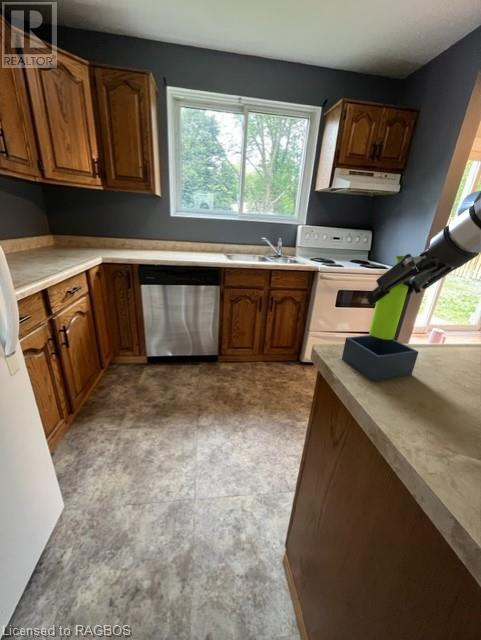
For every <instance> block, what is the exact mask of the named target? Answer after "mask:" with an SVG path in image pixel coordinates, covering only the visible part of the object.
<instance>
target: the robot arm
mask: <svg viewBox="0 0 481 640" xmlns="http://www.w3.org/2000/svg"><path fill="white" fill-rule="evenodd" d="M480 254H481V190H477V191H473V192H471V193H469V194H467V195H466V196H465V197H464V198H463V199H462V201H461V202H460V204H459V206H458V209H457V217H456V218H454V219H453V220H452V221H450V223H449V225H447V226H445V227H444V228H442V229H441V230H440V231H439V232H437V233H436V234H435V235H434V236H433V237H432V238H431V239H430V242H429V245H428V248H427V249H426V250H424V251H422V252H420V253H419V254H418V255H417V256H412V254H411V253H407V254H405V255H403V256H404V257H403V259H402V260H401V261H400V262H399V263H397V264H396V263H395V265H394V266H392V267H391V268H390V269H388V270H387V271H386V272H384V273H383V274H382V275H381V276H379V277H378V278H377V279H376V280H375V281H376V285H377V287H375V288H374V289H373V290H372V291H370V292H369V293H368V294H366V297H365V298H366V299H367V302H368V305H369V306H373V305H375V304H376V302H377V301H379V300H380V299H381V298H383V297H384V296H385V295H387V294H388V293H389V292H390V289H392V288H394V287H396V286H398V285H400V284H401V283H403V282H404V283H403V285H406V286H408V291H407V294H406V297H408V296H409V295H410V294H412V293H415V294H420V293H422V291H421V289H422V290H426V289H428V288H429V287H431V286H433V285H434V284H435V283H437V282H439V281H440V280H441V279H442V278H444V277H446V276H447V275H449V274H450V273H451V272H453V271H455V270H457V269H459V268H461V267H463V266H464V265H465V264H467V263H468V262H470V261H472V260H473V259H475V258H477V257H478V256H479V255H480ZM408 280H410V281H408Z"/></svg>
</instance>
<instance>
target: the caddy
mask: <svg viewBox="0 0 481 640" xmlns="http://www.w3.org/2000/svg"><path fill="white" fill-rule="evenodd" d="M341 355H342V356H341V360H342V361H343V362H345V363H346V364H348V365H349V366H351V367H352V368H354V369H355V370H356V371H358V373H360V374H361V375H363V376H364V377H366V378H367V379H369V380H370V381H371V382H378V381H383V380H389V379H395V378H401V377H406V376H407V377H408V376H412V375H413V373H414V369H415V365H416V363H417V362H416V361H417V359H418V355H419V350H416V349H414V348H412V347H411V346H408V345H406V344H404V343H402V342H400V341H398V340H396V339H395V338H394V339H391V340H387V339H380V338H377V337H374V336H372V335H370V334H365V335H358V336H357V335H355V336H348V337H345V341H344V346H343V350H342V354H341Z"/></svg>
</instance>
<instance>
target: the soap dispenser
mask: <svg viewBox="0 0 481 640" xmlns="http://www.w3.org/2000/svg"><path fill="white" fill-rule="evenodd" d="M404 256H405V255H394V259H396V262H395V265H396V264H397V263H399V262H400V261H401V260H402V259H403V257H404ZM404 283H405V282H403V283H401V284H400V285H398V286H396V287H394V288H392V289H390V292H389V293H388V294H387V295H385V296H384V297H383V298H381V299H380V300H379V301H377V302H376V303H375V306H374V310H373V314H372V318H371V322H370V326H369V330H368V335H372V336H374V337H377V338H380V339H387V340H391V339H394V340H395V336H396V332H397V330H398V325H399V322H400V319H401V316H402V311H403V308H404V304H405V301H406V298H407V296H406V294H407V291H408V286H406V285H403V284H404Z"/></svg>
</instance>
